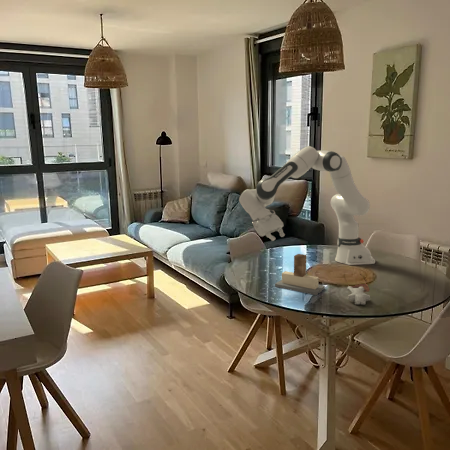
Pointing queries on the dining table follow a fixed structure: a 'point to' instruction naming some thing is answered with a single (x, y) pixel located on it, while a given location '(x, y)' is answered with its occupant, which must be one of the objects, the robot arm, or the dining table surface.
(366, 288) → the wooden tablet
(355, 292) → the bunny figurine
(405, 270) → the dining table surface
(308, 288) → the stand
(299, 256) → the walnut pillar
